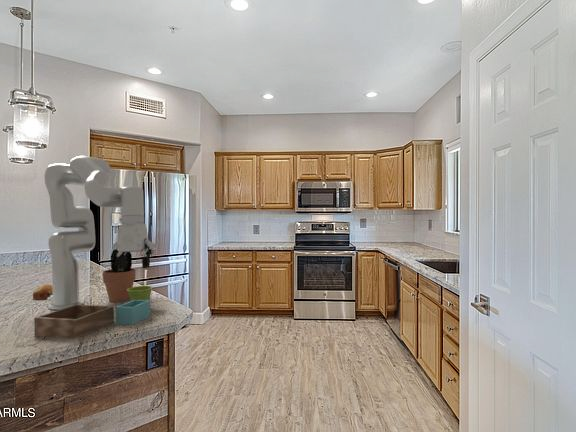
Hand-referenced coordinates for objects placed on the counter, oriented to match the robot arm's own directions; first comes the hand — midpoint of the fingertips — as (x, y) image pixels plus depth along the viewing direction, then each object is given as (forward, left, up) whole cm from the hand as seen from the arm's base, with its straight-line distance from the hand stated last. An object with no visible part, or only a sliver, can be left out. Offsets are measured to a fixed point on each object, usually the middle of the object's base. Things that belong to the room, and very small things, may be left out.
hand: (134, 267), depth 124 cm
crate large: (-13, -12, -19) cm, 27 cm away
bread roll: (-66, +24, -19) cm, 73 cm away
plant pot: (-6, +12, -19) cm, 23 cm away
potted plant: (-27, +26, -19) cm, 42 cm away
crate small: (0, 0, -19) cm, 19 cm away
